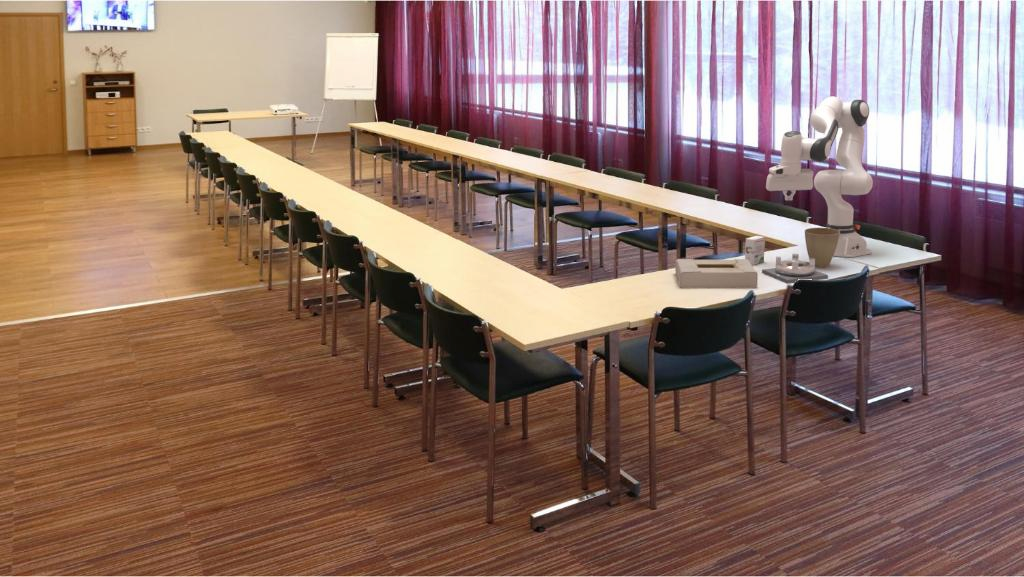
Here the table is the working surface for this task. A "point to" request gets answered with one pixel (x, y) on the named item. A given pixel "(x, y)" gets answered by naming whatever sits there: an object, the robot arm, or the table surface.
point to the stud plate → (792, 279)
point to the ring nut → (795, 266)
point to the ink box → (755, 249)
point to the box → (716, 273)
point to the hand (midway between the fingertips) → (788, 200)
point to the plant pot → (821, 245)
